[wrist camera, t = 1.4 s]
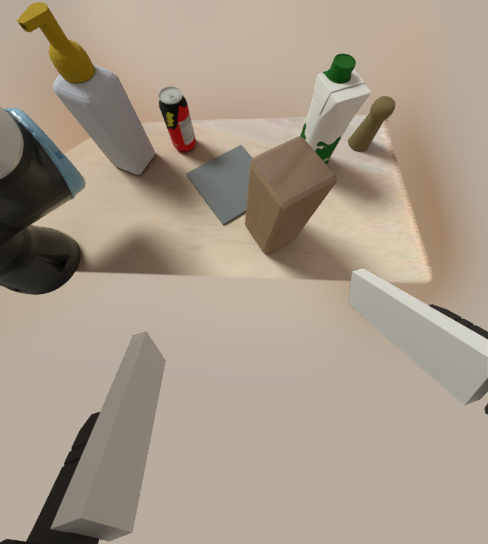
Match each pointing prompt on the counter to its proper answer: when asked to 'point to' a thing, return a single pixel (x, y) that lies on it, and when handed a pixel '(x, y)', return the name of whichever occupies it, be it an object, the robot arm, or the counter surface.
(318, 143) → the milk carton
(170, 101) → the beverage can
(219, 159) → the mat
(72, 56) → the soap bottle
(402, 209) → the counter surface
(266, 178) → the block
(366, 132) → the olive peg figure
